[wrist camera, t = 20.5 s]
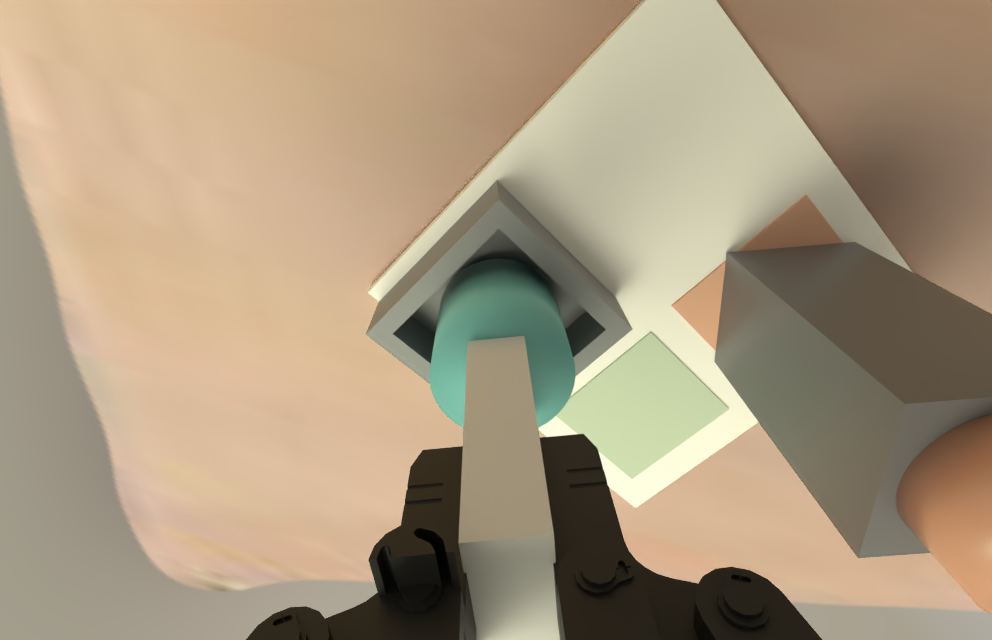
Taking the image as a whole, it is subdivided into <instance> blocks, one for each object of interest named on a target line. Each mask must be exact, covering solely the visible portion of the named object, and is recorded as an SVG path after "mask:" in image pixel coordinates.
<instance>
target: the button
mask: <svg viewBox="0 0 992 640" xmlns="http://www.w3.org/2000/svg"><path fill="white" fill-rule="evenodd" d="M516 336H524V337H525V343H526V350H527V357H528V363H529V370H530V377H531V384H532V390H533V397H534V404H535V411H536V417H537V424H538V428H539V427H541V426H543V425H545V424H546V423H548V422H549V421H550V420H552V419H553V418H554V417H555V416H556V415H557V414H558V413H559V412H560V411H561V410H562V409H563V408H564V406H565V405H566V403H567V402H568V400H569V398H570V396H571V394H572V391H573V387H574V384H575V363H574V359H573V355H572V352H571V348H570V345H569V341H568V338H567V335H566V331H565V328H564V324H563V321H562V317H561V314H560V310H559V307H558V304H557V300H556V297H555V294H554V292H553V290H552V288H551V286H550V284H549V283H548V281H547V280H546V279H545V278H544V277H543V276H542V275H541V274H540V273H539V272H538V271H536V270H535V269H534V268H532V267H530V266H529V265H526V264H524V263H522V262H519V261H515V260H510V259H488V260H484V261H480V262H477V263H474V264H472V265H470V266H468V267H466V268H465V269H463V270H462V271H461V272H459V273H458V274H457V275H456V276H455V277H454V278H453V279H452V280H451V281H450V283H449V284H448V286H447V287H446V289H445V291H444V293H443V296H442V299H441V303H440V309H439V315H438V322H437V328H436V334H435V340H434V346H433V353H432V359H431V365H430V371H429V380H430V386H431V390H432V393H433V396H434V398H435V400H436V402H437V404H438V405H439V407H440V408H441V410H442V411H443V412H444V413H445V414H446V415H447V416H448V417H449V418H450V419H451V420H452V421H454V422H455V423H457V424H458V425H460V426H461V427H463V428H464V409H465V388H466V366H467V344H468V341H475V340H485V339H495V338H506V337H516Z"/></svg>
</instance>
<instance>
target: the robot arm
mask: <svg viewBox="0 0 992 640" xmlns="http://www.w3.org/2000/svg"><path fill="white" fill-rule="evenodd" d="M369 563H370V566H371V570H372V573H373V577H374V580H375V584H376V587H377V591H378V593H376V594H375V595H374V596H372V597H371V598H370V599H369V600H367V601H366V602H364V603H362V604H360V605H358V606H356V607H354V608H352V609H349V610H346V611H344V612H341V613H339V614H336V615H333V616H331V617H328V618H326V619H325V618H324V617H323V616H322V615H321V613H320V612H319V611H316V610H314V609H311V608H309V607H290V608H288V609H285V610H283V611H280V612H277V613H275V614H273V615H272V616H270V617H269V618H267V619H266V620H265V621H263V622H262V623H261V624H259V625H258V626H257V627H256V628H255V630H254V631H253V632H252V633H251V634H250V636H249V637H248V638H247V639H246V640H822V639H821V638H820V637H819V635H818V634H817V633H816V632H815V631H814V629H813V628H812V627H811V626H810V625H809V624H808V622H807V621H806V620H805V619H804V618H803V616H802V615H801V614H800V613H799V612H798V611H797V609H796V608H795V607H794V606H793V605H792V603H791V602H790V601H789V600H788V599H787V597H786V596H785V595H784V594H783V593H782V592H781V591H780V590H779V589H778V588H777V587H776V586H775V585H773V584H772V583H771V582H770V581H769V580H768V579H766V578H764V577H762V576H760V575H758V574H756V573H754V572H752V571H750V570H745V569H740V568H735V567H727V568H719V569H715V570H713V571H711V572H709V573H708V574H706V575H704V576H703V577H702V579H701V580H700V582H699V584H697V583H692V582H687V581H682V580H677V579H672V578H669V577H665V576H662V575H659V574H656V573H654V572H653V571H651V570H649V569H647V568H645V567H644V566H643V565H641V564H640V563H639V562H638V561H637V560H635V558H634V557H633V556H632V554H631V553H630V552H629V551H628V548H627V546H626V544H625V542H624V538H623V535H622V532H621V528H620V525H619V521H618V518H617V514H616V511H615V507H614V504H613V500H612V497H611V493H610V490H609V486H608V485H607V480H606V476H605V473H604V470H603V466H602V462H601V459H600V455H599V452H598V448H597V447H596V446H595V445H594V444H593V443H592V442H591V441H590V440H589V439H588V438H587V437H586V436H585V435H584V434H575V435H564V436H553V437H543V438H540V437H539V431H538V424H537V417H536V411H535V404H534V397H533V390H532V384H531V377H530V370H529V363H528V357H527V350H526V343H525V337H524V336H516V337H506V338H495V339H485V340H475V341H468V344H467V366H466V388H465V409H464V431H463V446H462V447H451V448H441V449H430V450H423V451H422V452H421V453H420V455H419V456H418V458H417V459H416V460H415V462H414V463H413V465H412V466H411V468H410V474H409V480H408V490H407V492H406V498H405V505H404V510H403V516H402V522H401V526H399V527H398V528H396V529H394V530H392V531H390V532H389V533H387V534H385V535H384V537H383V538H382V539H381V540H380V541H379V542H378V543H377V544H376V545H375V546H374V548H373V551H372V553H371V555H370V557H369Z"/></svg>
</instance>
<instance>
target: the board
mask: <svg viewBox="0 0 992 640" xmlns="http://www.w3.org/2000/svg"><path fill="white" fill-rule="evenodd" d="M847 242H856V243H858V244H860V245H862V246H864V247H866V248H867V249H869V250H871V251H873V252H875V253H877V254H879V255H881V256H883V257H884V258H886V259H888V260H890V261H892V262H894V263H896V264H898V265H900V266H902V267H903V268H905V269H907V270H909V271H911V269H910V268H909V267H908V265H907V264H906V262H905V261H904V260H903V258H902V257H901V255H900V254H899V253H898V251H897V250H896V249H895V247H894V246H893V244H892V243H891V242H890V240H889V239H888V237H887V236H886V235H885V233H884V232H883V231H882V229H881V228H880V226H879V225H878V224H877V222H876V221H875V219H874V218H873V217H872V215H871V214H870V213H869V211H868V210H867V208H866V207H865V206H864V204H863V203H862V201H861V200H860V199H859V197H858V196H857V195H856V193H855V192H854V190H853V189H852V188H851V186H850V185H849V183H848V182H847V181H846V179H845V178H844V177H843V175H842V174H841V172H840V171H839V170H838V168H837V167H836V166H835V164H834V163H833V161H832V160H831V159H830V157H829V156H828V154H827V153H826V152H825V150H824V149H823V148H822V146H821V145H820V143H819V142H818V141H817V139H816V138H815V136H814V135H813V134H812V132H811V131H810V130H809V128H808V127H807V125H806V124H805V123H804V121H803V120H802V118H801V117H800V116H799V114H798V113H797V112H796V110H795V109H794V107H793V106H792V105H791V103H790V102H789V100H788V99H787V98H786V96H785V95H784V94H783V92H782V91H781V89H780V88H779V87H778V85H777V84H776V82H775V81H774V80H773V78H772V77H771V76H770V74H769V73H768V71H767V70H766V69H765V67H764V66H763V64H762V63H761V62H760V60H759V59H758V58H757V56H756V55H755V53H754V52H753V51H752V49H751V48H750V46H749V45H748V44H747V42H746V41H745V40H744V38H743V37H742V35H741V34H740V33H739V31H738V30H737V29H736V27H735V26H734V24H733V23H732V22H731V20H730V19H729V17H728V16H727V15H726V13H725V12H724V11H723V9H722V8H721V6H720V5H719V4H718V2H717V1H716V0H642V1H641V2H640V3H639V4H638V5H637V6H636V7H635V8H634V10H633V11H632V12H631V13H630V14H629V15H628V16H627V17H626V18H625V19H624V20H623V21H622V22H621V23H620V24H619V25H618V26H617V27H616V29H615V30H614V31H613V32H612V33H611V34H610V35H609V36H608V37H607V38H606V39H605V40H604V41H603V42H602V43H601V44H600V45H599V46H598V47H597V49H596V50H595V51H594V52H593V53H592V54H591V55H590V56H589V57H588V58H587V59H586V60H585V61H584V62H583V63H582V64H581V65H580V66H579V67H578V69H577V70H576V71H575V72H574V73H573V74H572V75H571V76H570V77H569V78H568V79H567V80H566V81H565V82H564V83H563V84H562V85H561V86H560V88H559V89H558V90H557V91H556V92H555V93H554V94H553V95H552V96H551V97H550V98H549V99H548V100H547V101H546V102H545V103H544V104H543V105H542V106H541V108H540V109H539V110H538V111H537V112H536V113H535V114H534V115H533V116H532V117H531V118H530V119H529V120H528V121H527V122H526V123H525V124H524V125H523V126H522V128H521V129H520V130H519V131H518V132H517V133H516V134H515V135H514V136H513V137H512V138H511V139H510V140H509V141H508V142H507V143H506V144H505V145H504V147H503V148H502V149H501V150H500V151H499V152H498V153H497V154H496V155H495V156H494V157H493V158H492V159H491V160H490V161H489V162H488V163H487V164H486V165H485V167H484V168H483V169H482V170H481V171H480V172H479V173H478V174H477V175H476V176H475V177H474V178H473V179H472V180H471V181H470V182H469V183H468V184H467V185H466V187H465V188H464V189H463V190H462V191H461V192H460V193H459V194H458V195H457V196H456V197H455V198H454V199H453V200H452V201H451V202H450V203H449V204H448V206H447V207H446V208H445V209H444V210H443V211H442V212H441V213H440V214H439V215H438V216H437V217H436V218H435V219H434V220H433V221H432V222H431V223H430V224H429V226H428V227H427V228H426V229H425V230H424V231H423V232H422V233H421V234H420V235H419V236H418V237H417V238H416V239H415V240H414V241H413V242H412V243H411V244H410V246H409V247H408V248H407V249H406V250H405V251H404V252H403V253H402V254H401V255H400V256H399V257H398V258H397V259H396V260H395V261H394V262H393V263H392V265H391V266H390V267H389V268H388V269H387V270H386V271H385V272H384V273H383V274H382V275H381V276H380V277H379V278H378V279H377V280H376V281H375V282H374V283H373V285H372V286H371V287H370V289H369V292H368V293H369V294H370V295H371V296H373V297H374V298H375V299H376V300H378V301H379V303H378V305H377V308H376V310H375V313H374V315H373V318H372V320H371V323H370V325H369V328H368V330H367V333H366V335H367V336H369V337H370V338H371V339H372V340H374V341H375V342H376V343H378V344H379V345H380V346H382V347H383V348H384V349H385V350H387V351H388V352H389V353H391V354H392V355H393V356H394V357H396V358H397V359H398V360H400V361H401V362H402V363H404V364H405V365H406V366H407V367H409V368H410V369H411V370H413V371H414V372H415V373H416V374H418V375H419V376H420V377H422V378H423V379H424V380H426V381H427V382H428V383H429V384H430V380H429V371H430V365H431V359H432V353H433V346H434V340H435V334H436V328H437V322H438V315H439V309H440V303H441V299H442V296H443V293H444V291H445V289H446V287H447V286H448V284H449V283H450V281H451V280H452V279H453V278H454V277H455V276H456V275H457V274H458V273H459V272H461V271H462V270H463V269H465V268H466V267H468V266H470V265H472V264H474V263H477V262H480V261H484V260H488V259H510V260H515V261H519V262H522V263H524V264H526V265H529V266H530V267H532V268H534V269H535V270H536V271H538V272H539V273H540V274H541V275H542V276H543V277H544V278H545V279H546V280H547V281H548V283H549V284H550V286H551V288H552V290H553V292H554V294H555V297H556V300H557V304H558V307H559V310H560V314H561V317H562V321H563V324H564V328H565V331H566V335H567V338H568V341H569V345H570V348H571V352H572V355H573V359H574V363H575V384H574V387H573V391H572V394H571V396H570V398H569V400H568V402H567V403H566V405H565V406H564V408H563V409H562V410H561V411H560V412H559V413H558V414H557V415H556V416H555V417H554V418H553V419H552V420H550V421H549V422H548V423H546V424H545V425H543V426H541V427H539V428H538V430H539V431H540V432H542V433H543V434H544V435H545V436H547V437H553V436H564V435H575V434H584V435H585V436H586V437H587V438H588V439H589V440H590V441H591V442H592V443H593V444H594V445H595V446H596V447H597V448H598V452H599V455H600V459H601V462H602V466H603V470H604V473H605V476H606V480H607V485H608V486H609V487H610V488H611V489H612V490H614V491H615V492H616V493H617V494H619V495H620V496H621V497H622V498H624V499H625V500H626V501H627V502H629V503H630V504H631V505H632V506H634V507H635V508H636V507H638V506H639V505H641V504H642V503H643V502H645V501H646V500H648V499H649V498H651V497H652V496H653V495H655V494H656V493H658V492H659V491H661V490H662V489H663V488H665V487H666V486H668V485H669V484H671V483H672V482H673V481H675V480H676V479H678V478H679V477H681V476H682V475H683V474H685V473H686V472H688V471H689V470H691V469H692V468H694V467H695V466H696V465H698V464H699V463H701V462H702V461H704V460H705V459H706V458H708V457H709V456H711V455H712V454H714V453H715V452H716V451H718V450H719V449H721V448H722V447H724V446H725V445H726V444H728V443H729V442H731V441H732V440H734V439H735V438H736V437H738V436H739V435H741V434H742V433H744V432H745V431H746V430H748V429H749V428H751V427H752V426H754V425H755V424H756V423H758V421H757V419H756V418H755V416H754V415H753V414H752V412H751V411H750V410H749V408H748V407H747V406H746V404H745V403H744V401H743V400H742V399H741V397H740V396H739V395H738V393H737V392H736V390H735V389H734V388H733V386H732V385H731V384H730V382H729V381H728V380H727V378H726V377H725V375H724V374H723V373H722V371H721V370H720V369H719V367H718V366H717V365H716V363H715V362H714V361H715V352H716V343H717V335H718V326H719V317H720V308H721V299H722V290H723V281H724V272H725V263H726V255H727V252H739V251H751V250H763V249H775V248H787V247H799V246H811V245H823V244H835V243H847ZM911 272H912V271H911Z"/></svg>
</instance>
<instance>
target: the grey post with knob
mask: <svg viewBox="0 0 992 640" xmlns="http://www.w3.org/2000/svg"><path fill="white" fill-rule="evenodd" d="M714 362H715V363H716V365H717V366H718V367H719V369H720V370H721V371H722V373H723V374H724V375H725V377H726V378H727V380H728V381H729V382H730V384H731V385H732V386H733V388H734V389H735V390H736V392H737V393H738V395H739V396H740V397H741V399H742V400H743V401H744V403H745V404H746V406H747V407H748V408H749V410H750V411H751V412H752V414H753V415H754V416H755V418H756V419H757V421H758V422H759V423H760V425H761V426H762V427H763V429H764V430H765V431H766V433H767V434H768V436H769V437H770V438H771V440H772V441H773V442H774V444H775V445H776V446H777V448H778V449H779V451H780V452H781V453H782V455H783V456H784V457H785V459H786V460H787V462H788V463H789V464H790V466H791V467H792V468H793V470H794V471H795V472H796V474H797V475H798V477H799V478H800V479H801V481H802V482H803V483H804V485H805V486H806V487H807V489H808V490H809V492H810V493H811V494H812V496H813V497H814V498H815V500H816V501H817V502H818V504H819V505H820V507H821V508H822V509H823V511H824V512H825V513H826V515H827V516H828V518H829V519H830V520H831V522H832V523H833V524H834V526H835V527H836V528H837V530H838V531H839V533H840V534H841V535H842V537H843V538H844V539H845V541H846V542H847V543H848V545H849V546H850V548H851V549H852V550H853V552H854V553H855V554H856V556H857V557H858V558H866V557H879V556H893V555H906V554H920V553H931V554H932V555H933V556H934V557H935V558H936V559H937V561H938V562H939V563H940V564H941V565H942V566H943V567H944V568H945V570H946V571H947V572H948V573H949V574H950V575H951V576H952V578H953V579H954V580H955V581H956V582H957V583H958V584H959V585H960V587H961V588H962V589H963V590H964V591H965V592H966V593H967V595H968V596H969V597H970V598H971V599H972V600H973V601H974V602H975V603H976V604H977V605H978V606H979V607H980V608H981V609H983V610H984V611H986V612H988V613H991V614H992V314H990V313H988V312H987V311H985V310H983V309H981V308H979V307H977V306H975V305H973V304H971V303H970V302H968V301H966V300H964V299H962V298H960V297H958V296H956V295H954V294H953V293H951V292H949V291H947V290H945V289H943V288H941V287H939V286H937V285H936V284H934V283H932V282H930V281H928V280H926V279H924V278H922V277H920V276H919V275H917V274H915V273H913V272H911V271H909V270H907V269H905V268H903V267H902V266H900V265H898V264H896V263H894V262H892V261H890V260H888V259H886V258H884V257H883V256H881V255H879V254H877V253H875V252H873V251H871V250H869V249H867V248H866V247H864V246H862V245H860V244H858V243H856V242H847V243H835V244H823V245H811V246H799V247H787V248H775V249H763V250H751V251H739V252H727V255H726V263H725V272H724V281H723V290H722V299H721V308H720V317H719V326H718V335H717V343H716V352H715V361H714Z"/></svg>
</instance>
